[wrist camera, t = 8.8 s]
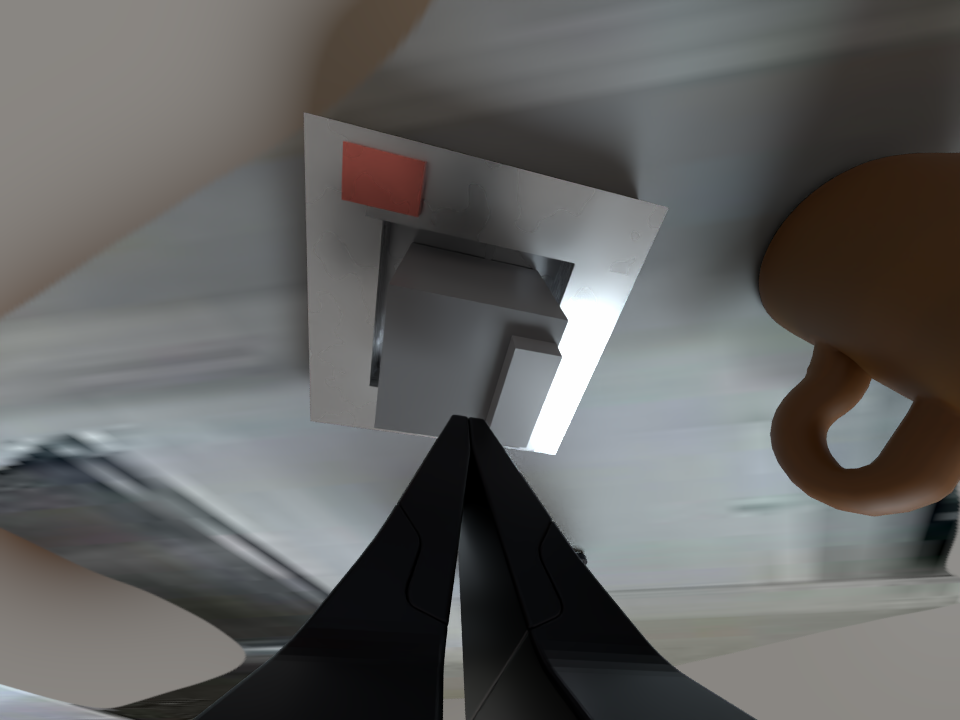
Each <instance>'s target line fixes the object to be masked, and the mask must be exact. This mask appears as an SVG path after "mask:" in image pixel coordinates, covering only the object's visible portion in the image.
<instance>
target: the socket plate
mask: <svg viewBox="0 0 960 720" xmlns="http://www.w3.org/2000/svg"><path fill="white" fill-rule="evenodd" d="M304 149H305V194H306V238H307V282H308V327H309V371H310V416H311V421H314V422H322V423H329V424H336V425H343V426H351V427H358V428H365V429H373V430H380V431H387V432H394V433H402V434H409V435H416V436H423V437H431V438H438V437H436V436H429V435H422V434H415V433H408V432H400V431H393V430H386V429H379V428H374V424H375V414H376V404H377V394H378V384H379V374H380V364H381V355H382V345H383V335H384V325H385V315H386V305H387V295H388V285H389V283H390V281H391V279H392V277H393V275H394V274H395V272H396V270H397V268H398V267H399V265H400V263H401V261H402V259H403V258H404V256H405V254H406V252H407V251H408V249H409V247H410V245H411V243H416V244H420V245H425V246H429V247H434V248H438V249H443V250H447V251H452V252H456V253H461V254H465V255H470V256H474V257H479V258H483V259H488V260H492V261H497V262H501V263H506V264H510V265H515V266H519V267H524V268H528V269H533V270H537V271H538V272H539V274H540V275H541V277H542V279H543V280H544V282H545V283H546V285H547V287H548V288H549V290H550V291H551V293H552V295H553V296H554V298H555V299H556V301H557V303H558V304H559V306H560V307H561V309H562V311H563V312H564V314H565V315H566V317H567V319H568V320H569V321H568V324H567V326H566V329H565V331H564V334H563V337H562V339H561V342H560V344H559V347H558V348H559V350H560V352H561V354H562V356H563V358H562V360H561V363H560V365H559V368H558V370H557V373H556V375H555V378H554V380H553V383H552V385H551V388H550V390H549V393H548V395H547V398H546V400H545V402H544V405H543V407H542V410H541V412H540V415H539V417H538V420H537V422H536V425H535V427H534V430H533V432H532V435H531V437H530V440H529V442H528V445H527V447H526V448H522V447H519V448H514V447H507V446H503V448H511V449H518V450H525V451H533V452H540V453H547V454H554V455H555V454H556V451H557V449H558V447H559V445H560V443H561V441H562V438H563V436H564V434H565V432H566V430H567V428H568V425H569V423H570V421H571V419H572V417H573V415H574V412H575V410H576V408H577V406H578V404H579V402H580V399H581V397H582V395H583V393H584V391H585V389H586V386H587V384H588V382H589V380H590V378H591V376H592V373H593V371H594V369H595V367H596V365H597V363H598V360H599V358H600V356H601V354H602V352H603V350H604V347H605V345H606V343H607V341H608V339H609V337H610V334H611V332H612V330H613V328H614V326H615V324H616V321H617V319H618V317H619V315H620V313H621V311H622V308H623V306H624V304H625V302H626V300H627V298H628V295H629V293H630V291H631V289H632V287H633V285H634V282H635V280H636V278H637V276H638V274H639V272H640V269H641V267H642V265H643V263H644V261H645V259H646V256H647V254H648V252H649V250H650V248H651V246H652V243H653V241H654V239H655V237H656V235H657V233H658V230H659V228H660V226H661V224H662V222H663V220H664V218H665V215H666V213H667V211H668V209H669V208H668V207H664V206H660V205H657V204H653V203H650V202H646V201H642V200H639V199H635V198H631V197H627V196H623V195H620V194H616V193H612V192H608V191H604V190H600V189H597V188H593V187H589V186H585V185H581V184H578V183H574V182H570V181H566V180H562V179H559V178H555V177H551V176H547V175H543V174H539V173H536V172H532V171H528V170H524V169H520V168H517V167H513V166H509V165H505V164H501V163H497V162H494V161H490V160H486V159H482V158H478V157H475V156H471V155H467V154H463V153H459V152H455V151H452V150H448V149H444V148H440V147H436V146H433V145H429V144H425V143H421V142H417V141H414V140H410V139H406V138H402V137H398V136H394V135H391V134H387V133H383V132H379V131H375V130H372V129H368V128H364V127H360V126H356V125H352V124H349V123H345V122H341V121H337V120H333V119H330V118H325V117H321V116H317V115H313V114H309V113H305V112H304Z"/></svg>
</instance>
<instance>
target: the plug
mask: <svg viewBox="0 0 960 720" xmlns="http://www.w3.org/2000/svg"><path fill="white" fill-rule="evenodd" d="M568 321H569V320H568V319H567V317H566V315H565V314H564V312H563V311H562V309H561V307H560V306H559V304H558V303H557V301H556V299H555V298H554V296H553V295H552V293H551V291H550V290H549V288H548V287H547V285H546V283H545V282H544V280H543V279H542V277H541V275H540V274H539V272H538V271H537V270H533V269H528V268H524V267H519V266H515V265H510V264H506V263H501V262H497V261H492V260H488V259H483V258H479V257H474V256H470V255H465V254H461V253H456V252H452V251H447V250H443V249H438V248H434V247H429V246H425V245H420V244H416V243H411V245H410V247H409V249H408V251H407V252H406V254H405V256H404V258H403V259H402V261H401V263H400V265H399V267H398V268H397V270H396V272H395V274H394V275H393V277H392V279H391V281H390V283H389V285H388V295H387V305H386V315H385V325H384V335H383V345H382V355H381V364H380V374H379V384H378V394H377V404H376V414H375V424H374V428H379V429H386V430H393V431H400V432H408V433H415V434H422V435H429V436H436V437H439V435H440V434H441V432H442V430H443V429H444V427H445V425H446V424H447V422H448V421H449V419H450V417H451V416H452V415H454V414H455V415H462V416H466V417H467V418H469V417H475V418H482V419H484V420H485V421H486V423H487V424H488V426H489V427H490V429H491V430H492V432H493V433H494V435H495V436H496V437H497V439H498V440H499V442H500V443H501V445H502V446H507V447H514V448H519V447H522V448H526V447H527V445H528V442H529V440H530V437H531V435H532V432H533V430H534V427H535V425H536V422H537V420H538V417H539V415H540V412H541V410H542V407H543V405H544V402H545V400H546V398H547V395H548V393H549V390H550V388H551V385H552V383H553V380H554V378H555V375H556V373H557V370H558V368H559V365H560V363H561V360H562V358H563V356H562V354H561V352H560V350H559V348H558V347H559V344H560V342H561V339H562V337H563V334H564V331H565V329H566V326H567V324H568Z"/></svg>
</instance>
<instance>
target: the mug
mask: <svg viewBox="0 0 960 720" xmlns="http://www.w3.org/2000/svg"><path fill="white" fill-rule="evenodd" d="M759 291H760V297H761V300H762V303H763V306H764V308H765V310H766V311H767V313H768V314H769V315H770V316H771V317H772V319H773V320H774V321H775V322H777V323H778V324H779V325H781V326H782V327H783V328H785V329H786V330H788V331H789V332H791V333H793V334H794V335H796V336H798V337H800V338H802V339H803V340H805V341H807V342H809V343H811V344H812V345H814V351H813V356H812V359H811V362H810V365H809V367H808V369H807V374H806V376H805V378H804V379H803V380H802V381H801V382H800V383H799V384H798V385H797V386H796V387H794V388H793V389H792V390H791V391H790V392H789V393H788V395H787V396H786V397H785V398H784V399H783V401H782V402H781V404H780V405H779V407H778V408H777V410H776V412H775V415H774V417H773V420H772V425H771V432H770V436H771V443H772V449H773V451H774V454H775V456H776V459H777V461H778V463H779V465H780V466H781V467H782V469H783V470H784V472H785V473H786V474H787V476H788V477H789V478H790V480H791V481H792V482H793V483H794V484H795V485H796V486H798V487H799V488H800V489H801V490H802V491H804V492H805V493H806V494H807V495H808V496H810V497H812V498H814V499H816V500H818V501H820V502H823V503H825V504H827V505H829V506H831V507H833V508H835V509H838V510H842V511H847V512H853V513H858V514H863V515H869V516H881V515H889V514H896V513H904V512H910V511H913V510H915V509H918V508H921V507H924V506H927V505H930V504H933V503H935V502H938V501H940V500H941V499H943V498H944V497H946V496H947V495H949V494H950V493H951V492H952V491H953V489H954V488H955V486H956V485H957V483H958V482H959V480H960V153H913V154H902V155H895V156H889V157H884V158H880V159H876V160H872V161H869V162H866V163H864V164H861V165H858V166H856V167H854V168H852V169H850V170H848V171H846V172H844V173H842V174H840V175H838V176H836V177H835V178H833V179H831V180H830V181H828V182H827V183H825V184H824V185H822V186H821V187H819V188H818V189H817V190H815V191H814V192H813V193H812V194H810V195H809V196H808V197H807V198H806V199H805V200H804V201H802V202H801V203H800V204H799V205H798V206H797V207H796V208H795V210H794V211H793V212H792V213H791V214H790V215H789V216H788V217H787V219H786V220H785V221H784V222H783V224H782V225H781V226H780V228H779V229H778V231H777V232H776V234H775V235H774V237H773V239H772V241H771V243H770V244H769V246H768V248H767V251H766V253H765V255H764V258H763V262H762V265H761V269H760V275H759ZM871 378H872V379H874V380H876V381H878V382H879V383H881V384H883V385H885V386H887V387H888V388H890V389H892V390H894V391H895V392H897V393H899V394H901V395H903V396H905V397H906V398H908V399H910V400H912V401H914V402H913V403H912V405H911V407H910V409H909V411H908V413H907V414H906V416H905V417H904V419H903V420H902V422H901V423H900V425H899V426H898V428H897V429H896V431H895V432H894V434H893V435H892V437H891V438H890V440H889V441H888V443H887V444H886V446H885V447H884V448H883V450H882V451H881V453H880V454H879V456H878V457H877V458H876V459H875V460H874V461H873V462H872V463H871V464H870V465H867V466H864V467H861V468H857V469H845V468H843V467H841V466H840V465H839V464H838V462H837V461H836V460H835V459H834V457H833V456H832V455H831V453H830V451H829V448H828V446H827V440H826V437H827V432H828V429H829V428H830V426H831V425H832V424H833V423H834V422H835V421H836V420H837V419H838V418H840V417H841V416H843V415H844V414H846V413H847V412H848V411H849V410H851V409H852V408H853V407H854V406H855V405H856V404H857V403H858V402H859V401H860V399H861V398H862V397H863V395H864V393H865V392H866V390H867V389H868V387H869V384H870V381H871Z"/></svg>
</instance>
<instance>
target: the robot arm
mask: <svg viewBox="0 0 960 720" xmlns="http://www.w3.org/2000/svg"><path fill="white" fill-rule="evenodd" d="M457 554H458V555H459V578H460V601H461V624H462V647H463V669H464V692H465V715H466V720H757V719H755V718H754V717H752V716H750V715H749V714H747V713H745V712H744V711H742V710H740V709H739V708H737V707H736V706H734V705H733V704H731V703H729V702H727V701H726V700H724V699H723V698H721V697H720V696H718V695H717V694H715V693H713V692H712V691H710V690H708V689H707V688H705V687H703V686H702V685H700V684H699V683H697V682H695V681H694V680H692V679H691V678H689V677H688V676H686V675H685V674H683V673H681V672H680V671H679V670H678V669H676V668H675V667H674V666H673V665H671V664H670V663H669V662H668V661H667V660H666V659H665V658H663V657H662V656H661V655H660V654H659V653H658V652H657V651H656V650H655V649H654V648H653V647H652V646H651V644H650V643H649V642H648V641H647V640H646V639H645V637H644V636H643V635H642V634H641V633H640V632H639V630H638V629H637V628H636V627H635V625H634V624H633V623H632V622H631V621H630V619H629V618H628V617H627V616H626V614H625V613H624V612H623V611H622V610H621V608H620V607H619V606H618V605H617V604H616V602H615V601H614V600H613V599H612V597H611V596H610V595H609V594H608V593H607V591H606V590H605V589H604V588H603V587H602V585H601V584H600V583H599V582H598V580H597V579H596V578H595V577H594V575H593V574H592V573H591V572H590V570H589V569H588V568H587V567H586V564H587V559H586V556H585V555H584V554H577V553H576V552H575V551H574V549H573V548H572V547H571V545H570V544H569V542H568V541H567V540H566V538H565V537H564V536H563V534H562V533H561V531H560V530H559V528H558V527H557V525H556V524H555V522H552V518H551V517H550V515H549V514H548V512H547V511H546V509H545V508H544V506H543V505H542V503H541V502H540V501H539V499H538V498H537V496H536V495H535V493H534V492H533V490H532V489H531V487H530V486H529V484H528V483H527V481H526V480H525V479H524V477H523V476H522V474H521V473H520V471H519V470H518V468H517V467H516V465H515V464H514V462H513V461H512V459H511V458H510V457H509V455H508V454H507V452H506V451H505V449H504V448H503V446H502V445H501V443H500V442H499V440H498V439H497V437H496V436H495V435H494V433H493V432H492V430H491V429H490V427H489V426H488V424H487V423H486V421H485V420H484V419H482V418H475V417H469V418H467V417H466V416H462V415H455V414H454V415H452V416H451V417H450V419H449V421H448V422H447V424H446V425H445V427H444V429H443V430H442V432H441V434H440V435H439V437H438V438H437V440H436V442H435V443H434V445H433V446H432V448H431V450H430V451H429V453H428V454H427V456H426V458H425V459H424V461H423V463H422V464H421V466H420V467H419V469H418V471H417V472H416V474H415V475H414V477H413V479H412V480H411V482H410V483H409V485H408V487H407V488H406V490H405V492H404V493H403V495H402V496H401V498H400V500H399V501H398V503H397V505H396V506H395V507H394V509H393V510H392V512H391V514H390V515H389V517H388V518H387V520H386V521H385V523H384V524H383V526H382V527H381V529H380V530H379V532H378V533H377V535H376V536H375V538H374V539H373V540H372V542H371V543H370V544H369V546H368V547H367V548H366V550H365V551H364V552H363V553H362V555H361V556H360V557H359V559H358V560H357V561H356V562H355V564H354V565H353V566H352V567H351V568H350V570H349V571H348V572H347V573H346V574H345V576H344V577H343V578H342V579H341V581H340V582H339V583H338V584H337V585H336V587H335V588H334V589H333V590H332V591H331V593H330V594H329V595H328V596H327V598H326V599H325V600H324V601H323V602H322V604H321V605H320V606H319V607H318V608H317V610H316V611H315V612H314V613H313V615H312V616H311V617H310V618H309V619H308V620H307V622H306V623H305V624H304V625H303V626H302V627H301V629H300V630H299V631H298V632H297V633H296V634H295V635H294V636H293V637H292V638H291V639H290V640H289V641H288V642H287V643H286V644H285V645H284V646H283V647H282V648H281V649H280V650H279V651H278V652H277V653H276V654H275V655H274V656H273V657H271V658H270V659H269V660H268V661H267V662H265V663H264V664H263V665H262V666H260V667H259V668H258V669H256V670H255V671H254V672H253V673H251V674H250V675H249V676H248V677H246V678H245V679H244V680H242V681H241V682H240V683H239V684H237V685H236V686H235V687H234V688H232V689H231V690H230V691H228V692H227V693H226V694H225V695H223V696H222V697H221V698H220V699H218V700H217V701H216V702H214V703H213V704H212V705H211V706H209V707H208V708H207V709H206V710H204V711H203V712H202V713H200V714H199V715H198V716H197V717H195V718H194V719H193V720H443V673H444V658H445V647H446V638H447V626H448V623H449V615H450V607H451V600H452V592H453V585H454V577H455V569H456V562H457Z"/></svg>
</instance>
